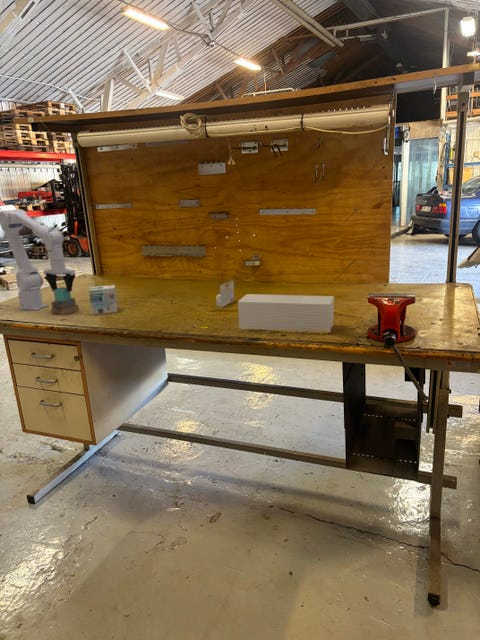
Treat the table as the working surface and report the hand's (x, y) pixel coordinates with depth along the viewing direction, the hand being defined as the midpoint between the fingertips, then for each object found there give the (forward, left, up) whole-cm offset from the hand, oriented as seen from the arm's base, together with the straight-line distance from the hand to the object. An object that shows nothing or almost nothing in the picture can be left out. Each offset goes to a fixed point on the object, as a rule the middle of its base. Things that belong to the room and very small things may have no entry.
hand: (62, 291), depth 195 cm
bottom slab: (0, -1, -10) cm, 10 cm away
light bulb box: (+18, +3, -10) cm, 21 cm away
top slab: (0, -1, -7) cm, 7 cm away
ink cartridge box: (+67, +21, -10) cm, 71 cm away
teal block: (0, -1, -4) cm, 4 cm away
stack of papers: (+100, -7, -10) cm, 100 cm away
